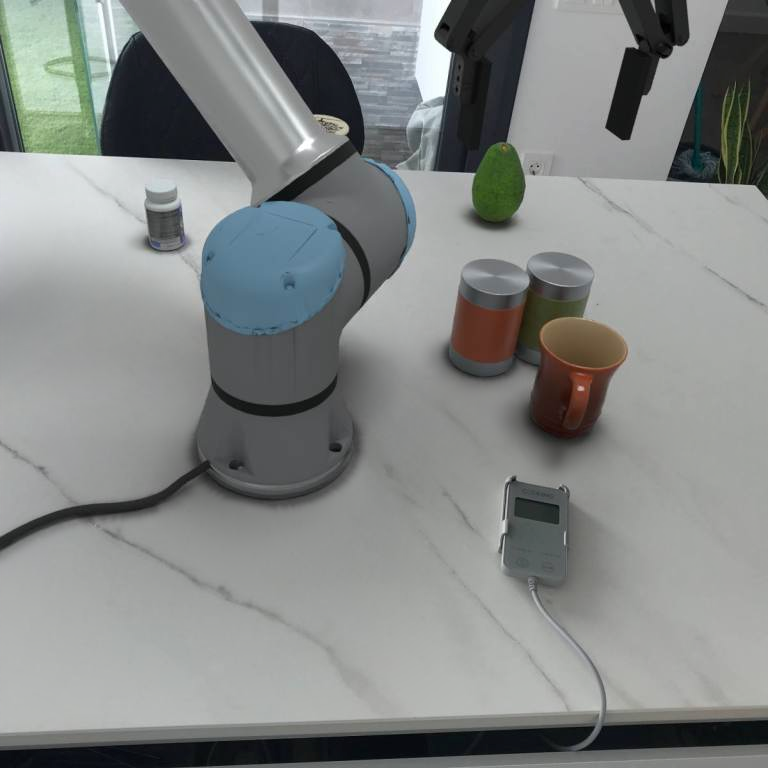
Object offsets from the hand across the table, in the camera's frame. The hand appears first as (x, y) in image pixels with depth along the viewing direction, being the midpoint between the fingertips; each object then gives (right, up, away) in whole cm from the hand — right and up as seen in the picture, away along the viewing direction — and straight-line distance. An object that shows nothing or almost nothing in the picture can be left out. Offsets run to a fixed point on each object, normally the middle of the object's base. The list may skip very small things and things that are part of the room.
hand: (544, 139), depth 63 cm
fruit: (+4, +5, +56) cm, 56 cm away
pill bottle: (-42, -1, +43) cm, 61 cm away
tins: (+2, -16, +29) cm, 33 cm away
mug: (+6, -25, +19) cm, 32 cm away
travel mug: (-22, -2, +44) cm, 49 cm away
